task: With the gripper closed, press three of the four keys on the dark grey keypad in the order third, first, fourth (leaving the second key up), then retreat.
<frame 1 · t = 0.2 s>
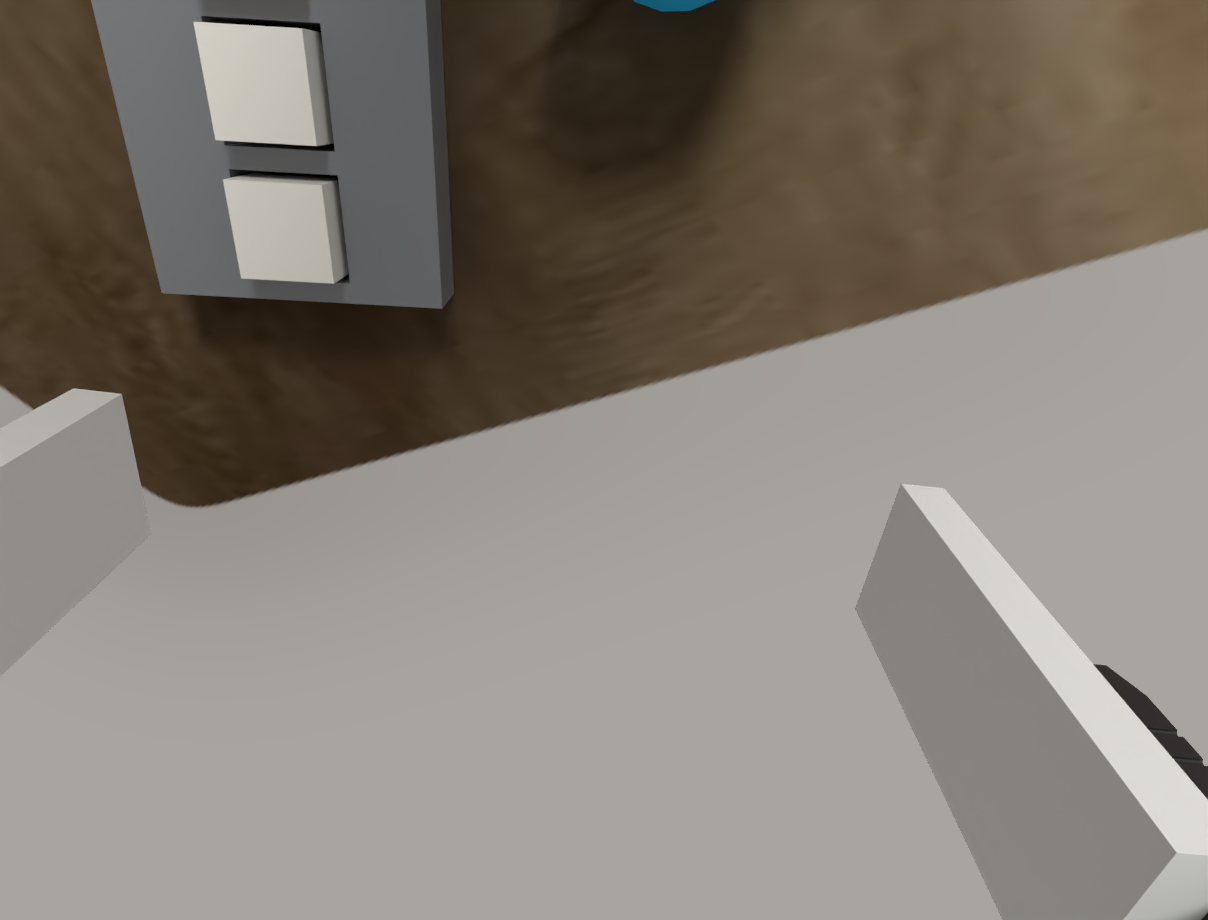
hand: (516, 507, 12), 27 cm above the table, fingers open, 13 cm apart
keypad: (288, 12, 32), on the table
key 4: (293, 227, 34), point 3 cm above the table, slide at 0.0 cm
key 3: (272, 86, 31), point 3 cm above the table, slide at 0.0 cm
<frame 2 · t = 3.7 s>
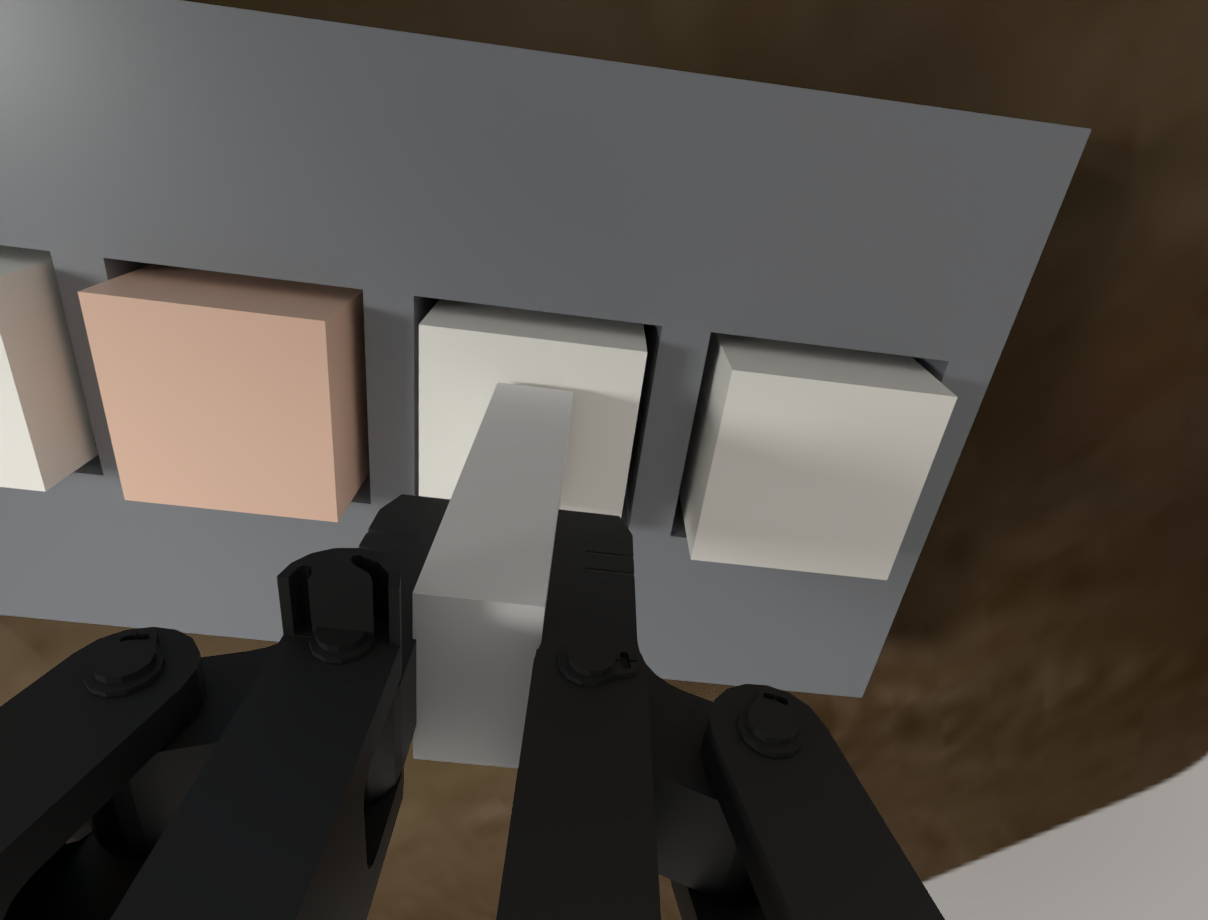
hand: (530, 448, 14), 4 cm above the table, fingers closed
keypad: (423, 360, 18), on the table
key 2: (252, 388, 15), point 3 cm above the table, slide at 0.0 cm
key 4: (798, 450, 16), point 3 cm above the table, slide at 0.0 cm
key 3: (532, 411, 16), point 2 cm above the table, slide at 0.5 cm, touching gripper
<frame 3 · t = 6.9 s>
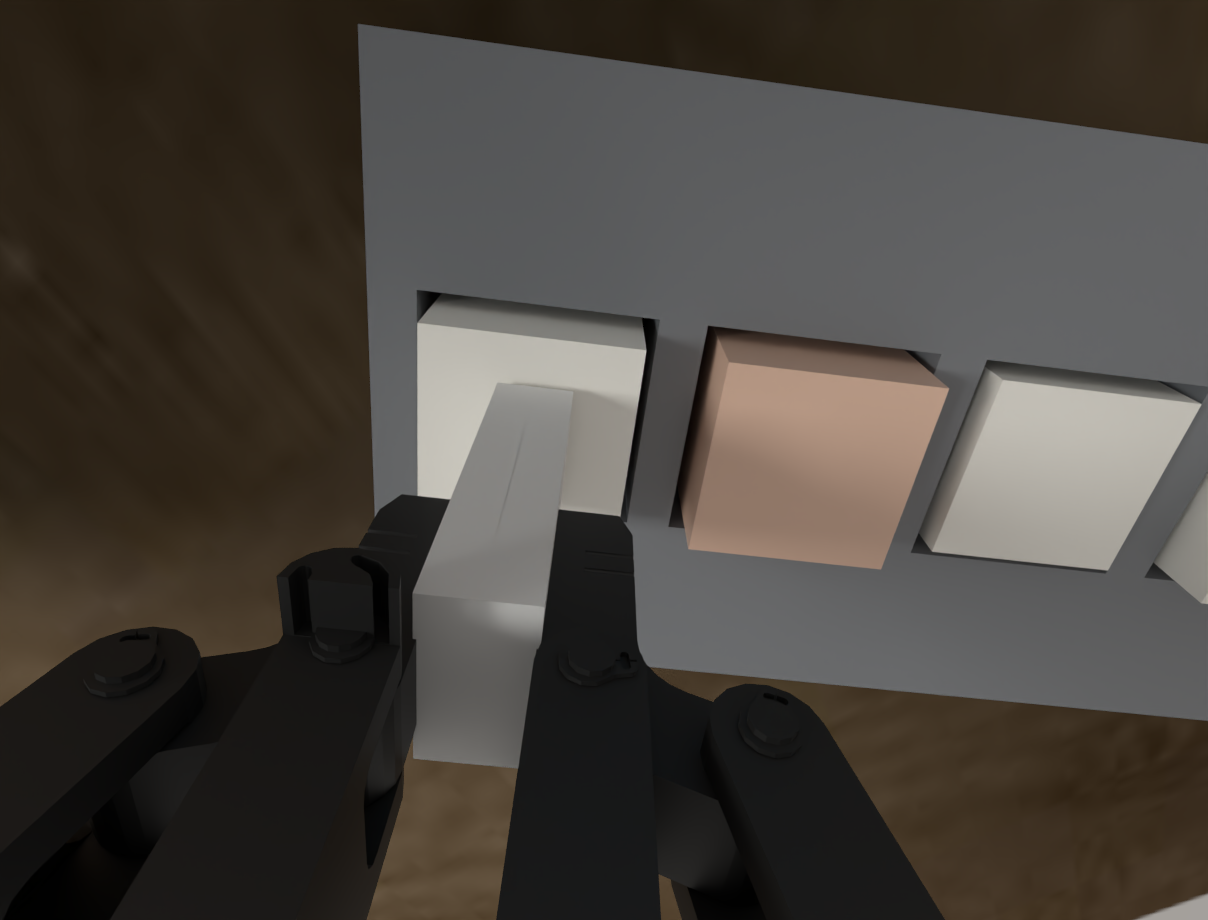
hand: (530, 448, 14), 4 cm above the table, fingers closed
key 1: (531, 410, 16), point 3 cm above the table, slide at 0.1 cm, touching gripper
keypad: (879, 408, 19), on the table
key 2: (793, 442, 16), point 3 cm above the table, slide at 0.0 cm
key 3: (1024, 451, 17), point 2 cm above the table, slide at 1.0 cm
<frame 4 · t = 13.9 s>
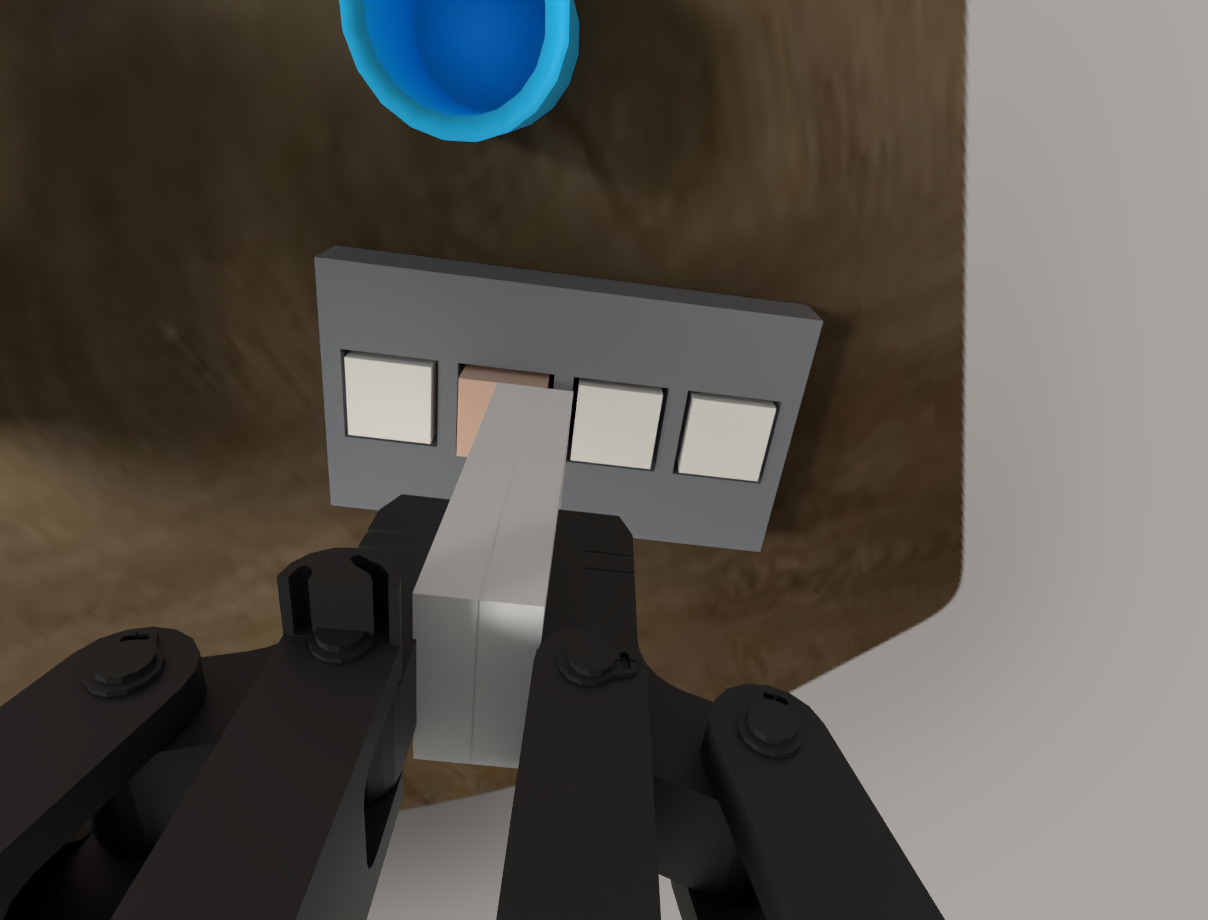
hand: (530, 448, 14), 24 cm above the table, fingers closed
key 1: (396, 391, 38), point 2 cm above the table, slide at 1.0 cm
keypad: (563, 398, 40), on the table
key 2: (504, 411, 37), point 3 cm above the table, slide at 0.0 cm
key 4: (722, 429, 39), point 2 cm above the table, slide at 1.0 cm
key 3: (615, 417, 39), point 2 cm above the table, slide at 1.0 cm
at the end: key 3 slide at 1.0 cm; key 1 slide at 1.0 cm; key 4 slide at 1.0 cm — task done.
